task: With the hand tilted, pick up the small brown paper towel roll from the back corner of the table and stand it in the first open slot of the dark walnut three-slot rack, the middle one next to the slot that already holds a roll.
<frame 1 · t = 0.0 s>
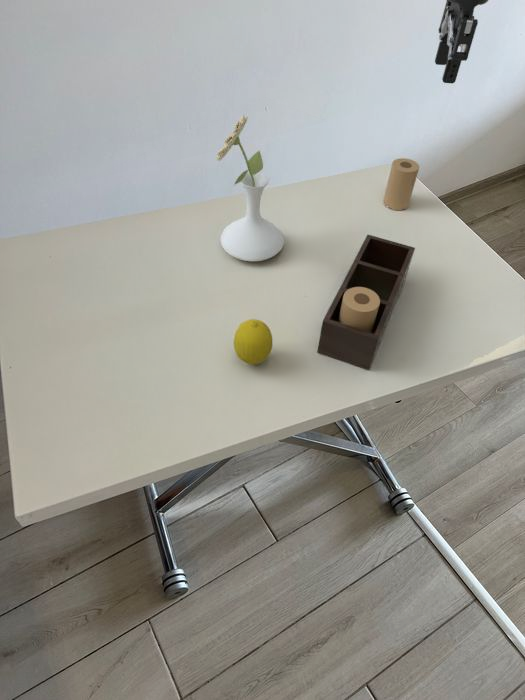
hand: (444, 72, 96), 23 cm above the table, tool pointing down, fingers open, 8 cm apart
stocked roll: (350, 343, 82), resting on rack
towel roll: (395, 203, 108), on the table
lemon: (252, 361, 79), on the table
rack: (364, 313, 86), on the table
flower in vase: (249, 250, 96), on the table
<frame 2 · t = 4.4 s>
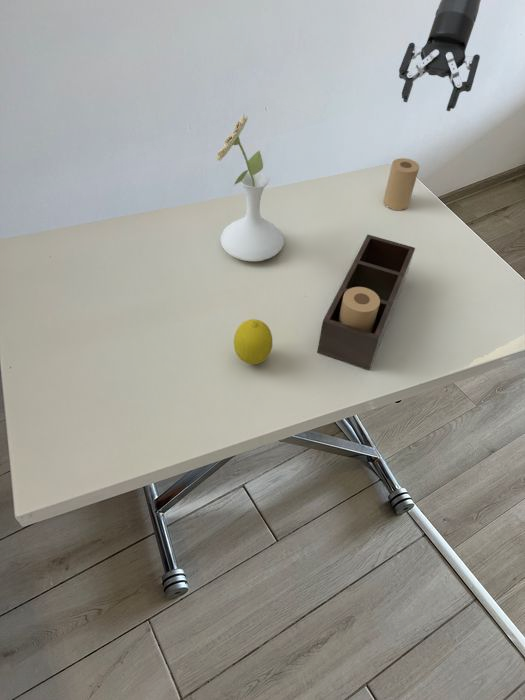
hand: (426, 105, 104), 16 cm above the table, tool tilted 45°, fingers open, 8 cm apart
nothing on the table moved.
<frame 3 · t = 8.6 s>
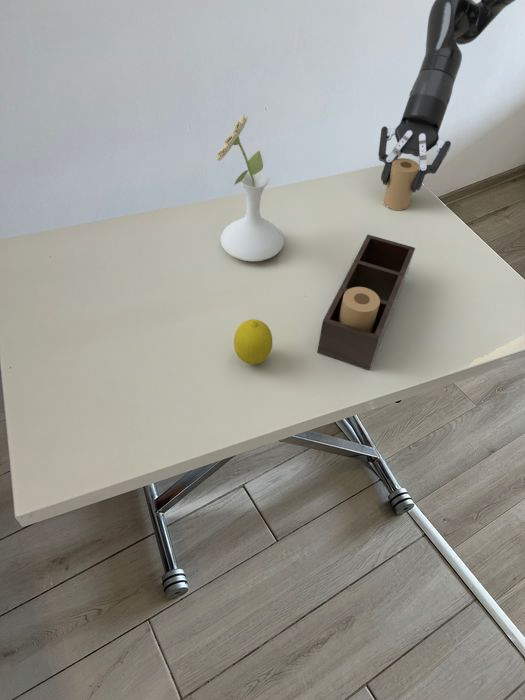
hand: (398, 187, 104), 5 cm above the table, tool tilted 45°, fingers closed on towel roll, 5 cm apart
towel roll: (395, 203, 108), on the table, touching gripper
everything else where it was.
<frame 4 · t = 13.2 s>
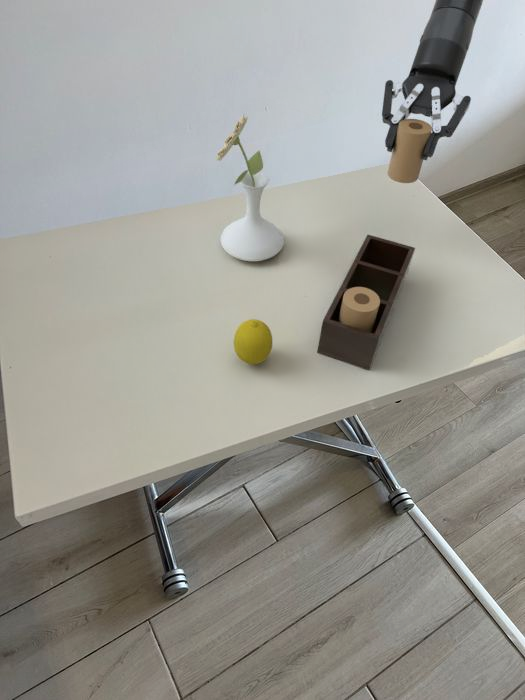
hand: (406, 153, 85), 18 cm above the table, tool tilted 45°, fingers closed on towel roll, 5 cm apart
towel roll: (402, 175, 90), point 13 cm above the table, touching gripper
everything else where it was.
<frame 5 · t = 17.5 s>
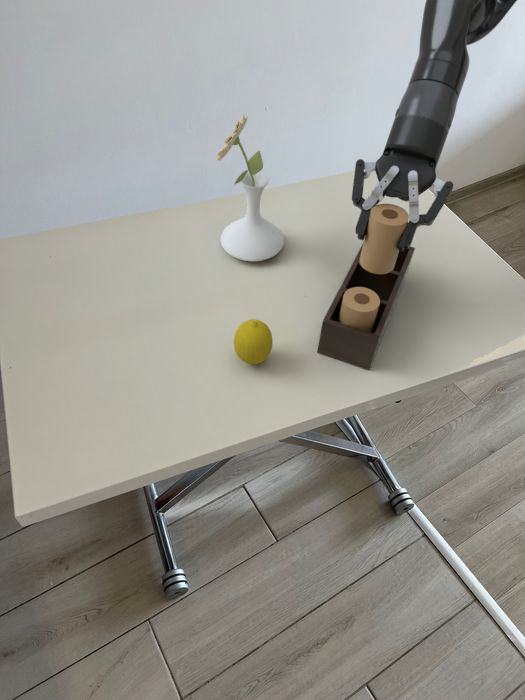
hand: (380, 243, 74), 15 cm above the table, tool tilted 45°, fingers closed on towel roll, 5 cm apart
towel roll: (376, 262, 79), point 10 cm above the table, touching gripper
everything else where it was.
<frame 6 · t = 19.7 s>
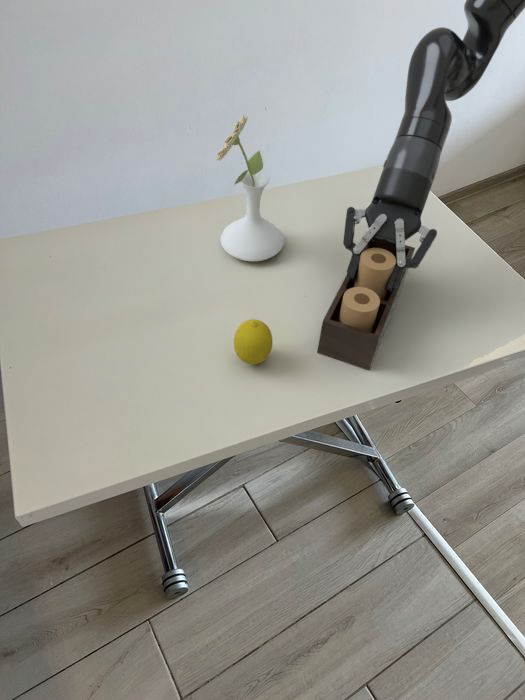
hand: (369, 285, 80), 7 cm above the table, tool tilted 45°, fingers closed on towel roll, 5 cm apart
towel roll: (367, 300, 84), point 3 cm above the table, touching gripper
everything else where it was.
when the fingers open (8 cm above the table, at t = 26.8 s): towel roll drops 2 cm, resting on rack.
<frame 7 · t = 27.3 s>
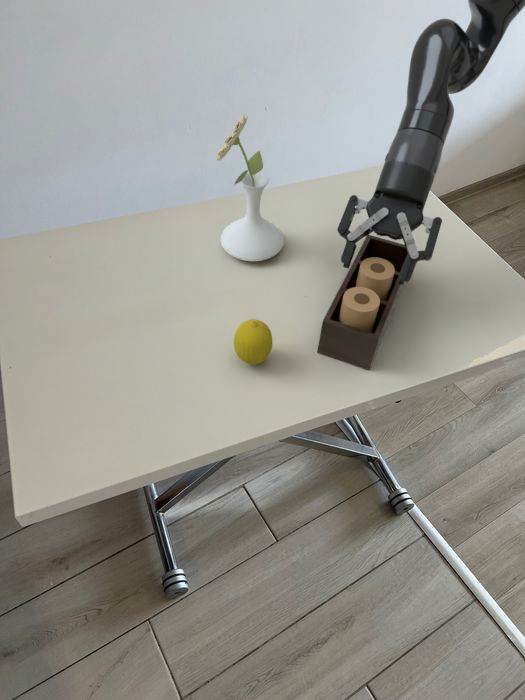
hand: (372, 275, 79), 9 cm above the table, tool tilted 45°, fingers open, 8 cm apart
towel roll: (366, 309, 86), point 1 cm above the table, touching rack
everything else where it was.
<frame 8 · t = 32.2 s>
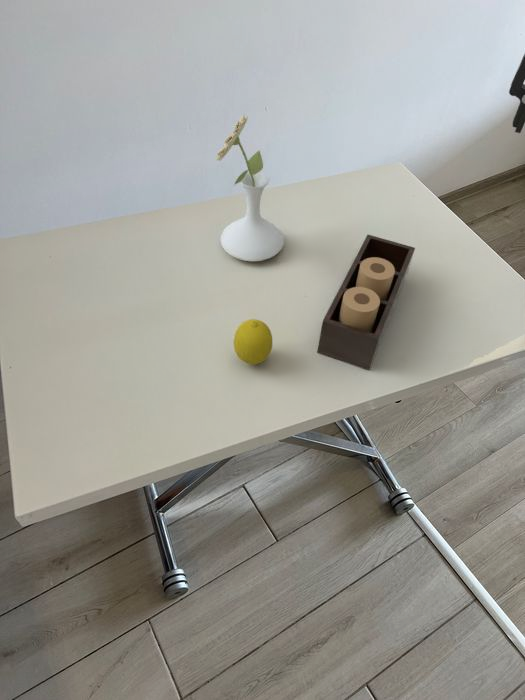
nothing on the table moved.
at the end: towel roll 0.2 cm off-centre in the rack, point 1.0 cm above the rack's base; towel roll tilted 0°; the gripper is holding nothing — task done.
